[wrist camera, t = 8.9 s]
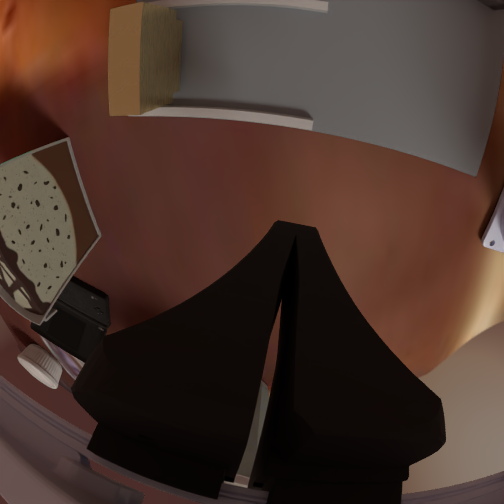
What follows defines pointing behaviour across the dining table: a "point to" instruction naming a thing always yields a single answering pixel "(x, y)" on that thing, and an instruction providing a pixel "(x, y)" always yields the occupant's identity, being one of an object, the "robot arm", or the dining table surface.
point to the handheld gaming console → (77, 319)
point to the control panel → (347, 70)
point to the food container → (42, 228)
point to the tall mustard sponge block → (143, 58)
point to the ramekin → (41, 365)
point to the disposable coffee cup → (252, 439)
